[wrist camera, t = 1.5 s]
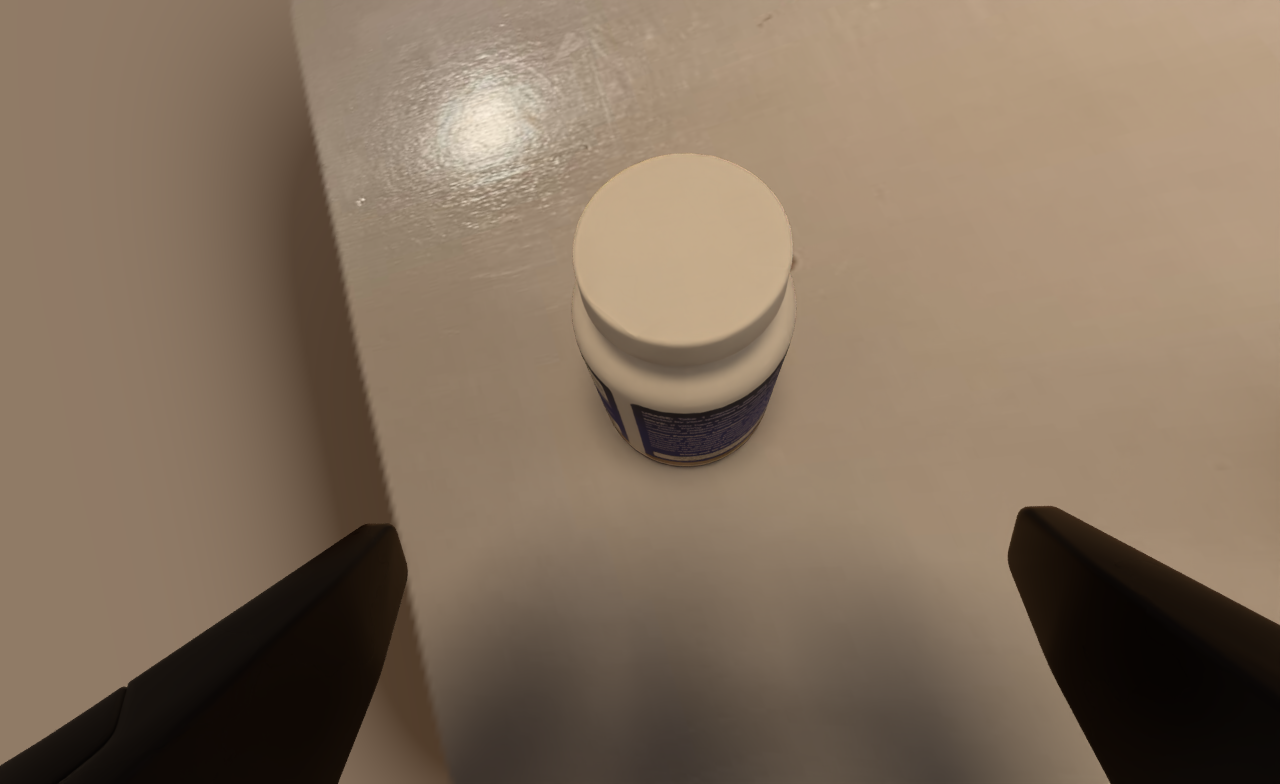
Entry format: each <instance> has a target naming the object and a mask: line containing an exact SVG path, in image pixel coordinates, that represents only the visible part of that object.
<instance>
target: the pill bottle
mask: <svg viewBox="0 0 1280 784" xmlns="http://www.w3.org/2000/svg"><path fill="white" fill-rule="evenodd" d="M792 258H793V239H792V233H791V227H790V224H789V221H788V218H787V216H786V213H785V211H784V209H783V207H782V205H781V203H780V202H779V200H778V199H777V197H776V196H775V194H774V193H773V192H772V191H771V190H770V189H769V187H768V186H767V185H766V184H765V183H764V182H762V181H761V180H760V179H759V178H758V177H757V176H755V175H754V174H753V173H751V172H750V171H748V170H746V169H744V168H743V167H741V166H739V165H737V164H735V163H732V162H730V161H728V160H724V159H721V158H718V157H714V156H709V155H703V154H690V153H684V154H669V155H663V156H658V157H654V158H651V159H648V160H645V161H642V162H639V163H637V164H635V165H632V166H630V167H628V168H626V169H625V170H623V171H621V172H620V173H618V174H617V175H615V176H614V177H613V178H612V179H610V180H609V181H608V182H606V183H605V184H604V185H603V186H602V187H601V188H600V189H599V190H598V191H597V192H596V194H595V195H594V196H593V197H592V199H591V200H590V201H589V203H588V204H587V206H586V208H585V210H584V211H583V213H582V215H581V217H580V219H579V222H578V225H577V228H576V232H575V236H574V243H573V268H574V274H575V278H576V282H575V286H574V291H573V296H572V322H573V328H574V332H575V337H576V341H577V344H578V346H579V349H580V352H581V354H582V357H583V359H584V361H585V363H586V365H587V367H588V370H589V372H590V374H591V377H592V379H593V381H594V383H595V386H596V388H597V390H598V392H599V395H600V397H601V399H602V402H603V404H604V406H605V408H606V411H607V413H608V415H609V417H610V419H611V421H612V423H613V425H614V426H615V428H616V429H617V431H618V432H619V433H620V435H621V436H622V437H623V438H624V439H625V440H626V441H627V442H628V443H629V444H630V445H631V446H632V447H633V448H634V449H636V450H637V451H639V452H640V453H642V454H643V455H645V456H647V457H649V458H651V459H653V460H656V461H658V462H661V463H665V464H669V465H676V466H696V465H703V464H707V463H711V462H714V461H716V460H719V459H722V458H723V457H725V456H727V455H729V454H731V453H732V452H734V451H735V450H736V449H738V448H739V447H740V446H741V445H743V444H744V443H745V442H746V441H747V440H748V438H749V437H750V436H751V435H752V434H753V432H754V431H755V429H756V428H757V426H758V425H759V423H760V421H761V419H762V417H763V415H764V413H765V410H766V407H767V404H768V402H769V399H770V396H771V394H772V391H773V388H774V385H775V382H776V380H777V377H778V374H779V372H780V369H781V366H782V364H783V361H784V358H785V356H786V353H787V351H788V348H789V345H790V341H791V338H792V335H793V331H794V326H795V320H796V295H795V288H794V284H793V280H792V276H791V274H790V270H791V265H792Z"/></svg>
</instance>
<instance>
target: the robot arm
mask: <svg viewBox="0 0 1280 784" xmlns="http://www.w3.org/2000/svg"><path fill="white" fill-rule="evenodd" d="M1008 564H1009V568H1010V571H1011V573H1012V576H1013V578H1014V581H1015V583H1016V586H1017V588H1018V591H1019V593H1020V596H1021V598H1022V601H1023V603H1024V606H1025V608H1026V611H1027V613H1028V616H1029V618H1030V621H1031V623H1032V626H1033V628H1034V631H1035V633H1036V636H1037V638H1038V641H1039V643H1040V646H1041V648H1042V651H1043V653H1044V656H1045V658H1046V660H1047V662H1048V665H1049V667H1050V669H1051V671H1052V673H1053V675H1054V677H1055V679H1056V681H1057V683H1058V685H1059V687H1060V689H1061V691H1062V693H1063V695H1064V697H1065V698H1066V700H1067V702H1068V704H1069V706H1070V708H1071V710H1072V712H1073V714H1074V715H1075V717H1076V719H1077V721H1078V723H1079V725H1080V727H1081V729H1082V730H1083V732H1084V734H1085V736H1086V738H1087V740H1088V742H1089V744H1090V746H1091V747H1092V749H1093V751H1094V753H1095V755H1096V757H1097V759H1098V761H1099V762H1100V764H1101V766H1102V768H1103V770H1104V772H1105V774H1106V776H1107V778H1108V779H1109V781H1110V783H1111V784H1280V625H1278V624H1277V623H1275V622H1273V621H1271V620H1269V619H1267V618H1265V617H1263V616H1261V615H1260V614H1258V613H1256V612H1254V611H1252V610H1250V609H1248V608H1246V607H1244V606H1242V605H1241V604H1239V603H1237V602H1235V601H1233V600H1231V599H1229V598H1227V597H1225V596H1224V595H1222V594H1220V593H1218V592H1216V591H1214V590H1212V589H1210V588H1208V587H1207V586H1205V585H1203V584H1201V583H1199V582H1197V581H1195V580H1193V579H1191V578H1189V577H1188V576H1186V575H1184V574H1182V573H1180V572H1178V571H1176V570H1174V569H1172V568H1171V567H1169V566H1167V565H1165V564H1163V563H1161V562H1159V561H1157V560H1155V559H1154V558H1152V557H1150V556H1148V555H1146V554H1144V553H1142V552H1140V551H1138V550H1136V549H1135V548H1133V547H1131V546H1129V545H1127V544H1125V543H1123V542H1121V541H1119V540H1118V539H1116V538H1114V537H1112V536H1110V535H1108V534H1106V533H1104V532H1102V531H1101V530H1099V529H1097V528H1095V527H1093V526H1091V525H1089V524H1087V523H1085V522H1083V521H1082V520H1080V519H1078V518H1076V517H1074V516H1072V515H1070V514H1068V513H1066V512H1065V511H1063V510H1061V509H1059V508H1057V507H1053V506H1029V507H1024V508H1022V509H1021V510H1020V511H1019V513H1018V515H1017V519H1016V522H1015V526H1014V530H1013V534H1012V538H1011V542H1010V546H1009V550H1008ZM407 576H408V569H407V563H406V560H405V556H404V553H403V550H402V546H401V543H400V540H399V537H398V533H397V531H396V528H395V527H394V526H393V525H391V524H389V523H378V524H365V525H363V526H361V527H359V528H358V529H356V530H355V531H353V532H352V533H350V534H349V535H347V536H346V537H344V538H343V539H341V540H340V541H339V542H337V543H335V544H334V545H333V546H331V547H330V548H328V549H326V550H325V551H324V552H322V553H321V554H319V555H318V556H316V557H315V558H313V559H312V560H310V561H309V562H307V563H306V564H304V565H303V566H301V567H300V568H298V569H297V570H295V571H294V572H292V573H291V574H289V575H288V576H286V577H285V578H283V579H282V580H280V581H279V582H277V583H276V584H275V585H273V586H271V587H270V588H269V589H267V590H266V591H264V592H263V593H261V594H260V595H258V596H257V597H255V598H254V599H252V600H251V601H249V602H248V603H246V604H245V605H244V606H242V607H240V608H239V609H237V610H236V611H234V612H233V613H231V614H230V615H228V616H227V617H225V618H224V619H222V620H221V621H219V622H218V623H216V624H215V625H213V626H212V627H211V628H209V629H208V630H206V631H205V632H203V633H202V634H200V635H199V636H197V637H196V638H194V639H193V640H191V641H190V642H188V643H187V644H185V645H184V646H182V647H181V648H179V649H178V650H176V651H175V652H173V653H172V654H170V655H169V656H168V657H166V658H164V659H163V660H161V661H160V662H158V663H157V664H155V665H154V666H152V667H151V668H150V669H148V670H147V671H145V672H144V673H142V674H141V675H139V676H138V677H136V678H135V679H133V680H132V681H130V682H129V684H128V686H127V687H121V688H119V689H118V690H117V691H115V692H114V693H112V694H111V695H109V696H108V697H106V698H105V699H103V700H102V701H100V702H99V703H97V704H96V705H94V706H93V707H91V708H90V709H88V710H87V711H85V712H84V713H82V714H81V715H79V716H78V717H76V718H75V719H73V720H72V721H70V722H69V723H67V724H65V725H64V726H62V727H61V728H59V729H58V730H56V731H55V732H54V733H52V734H50V735H49V736H47V737H46V738H44V739H42V740H41V741H39V742H38V743H36V744H35V745H33V746H31V747H30V748H28V749H26V750H25V751H23V752H22V753H20V754H18V755H17V756H15V757H14V758H12V759H10V760H9V761H7V762H5V763H4V764H2V765H1V766H0V784H338V782H339V779H340V777H341V774H342V772H343V769H344V767H345V764H346V762H347V759H348V757H349V754H350V752H351V749H352V747H353V744H354V742H355V739H356V737H357V734H358V732H359V729H360V726H361V724H362V721H363V719H364V716H365V714H366V711H367V709H368V706H369V704H370V701H371V699H372V696H373V694H374V691H375V688H376V686H377V683H378V680H379V678H380V675H381V671H382V668H383V665H384V661H385V658H386V655H387V651H388V647H389V644H390V640H391V636H392V633H393V629H394V626H395V622H396V618H397V615H398V611H399V607H400V604H401V600H402V597H403V593H404V589H405V586H406V582H407Z"/></svg>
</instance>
